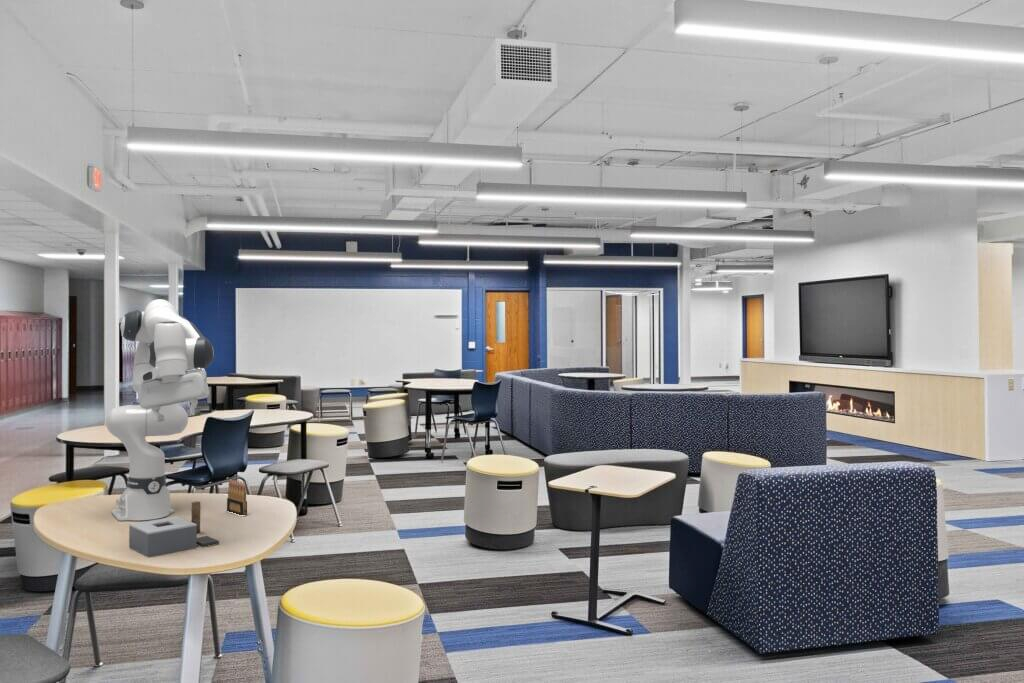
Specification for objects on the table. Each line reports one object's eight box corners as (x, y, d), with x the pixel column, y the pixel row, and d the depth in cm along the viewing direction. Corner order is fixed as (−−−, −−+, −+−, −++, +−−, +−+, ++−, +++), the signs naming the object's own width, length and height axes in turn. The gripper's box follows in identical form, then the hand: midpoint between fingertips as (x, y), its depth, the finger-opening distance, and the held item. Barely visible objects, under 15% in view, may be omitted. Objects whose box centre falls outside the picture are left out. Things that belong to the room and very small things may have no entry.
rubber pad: (191, 542, 230) (191, 538, 230) (207, 539, 234) (207, 535, 234) (202, 547, 225) (202, 543, 225) (219, 544, 228) (219, 540, 228)
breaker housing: (129, 547, 223) (129, 524, 223) (176, 538, 234) (176, 516, 234) (148, 557, 214) (148, 532, 214) (196, 547, 224) (196, 524, 224)
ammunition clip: (226, 511, 270) (226, 478, 270) (231, 511, 271) (231, 478, 271) (242, 516, 263) (242, 482, 263) (247, 515, 264) (247, 481, 264)
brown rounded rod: (189, 533, 240) (190, 502, 240) (197, 531, 242) (198, 501, 242) (193, 534, 238) (193, 503, 238) (201, 533, 240) (201, 502, 240)
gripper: (210, 368, 226) (214, 413, 223) (146, 380, 227) (149, 425, 224) (200, 364, 220) (204, 410, 217) (134, 377, 221) (137, 423, 218)
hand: (175, 418), depth 221 cm, fingers open, 8 cm apart
